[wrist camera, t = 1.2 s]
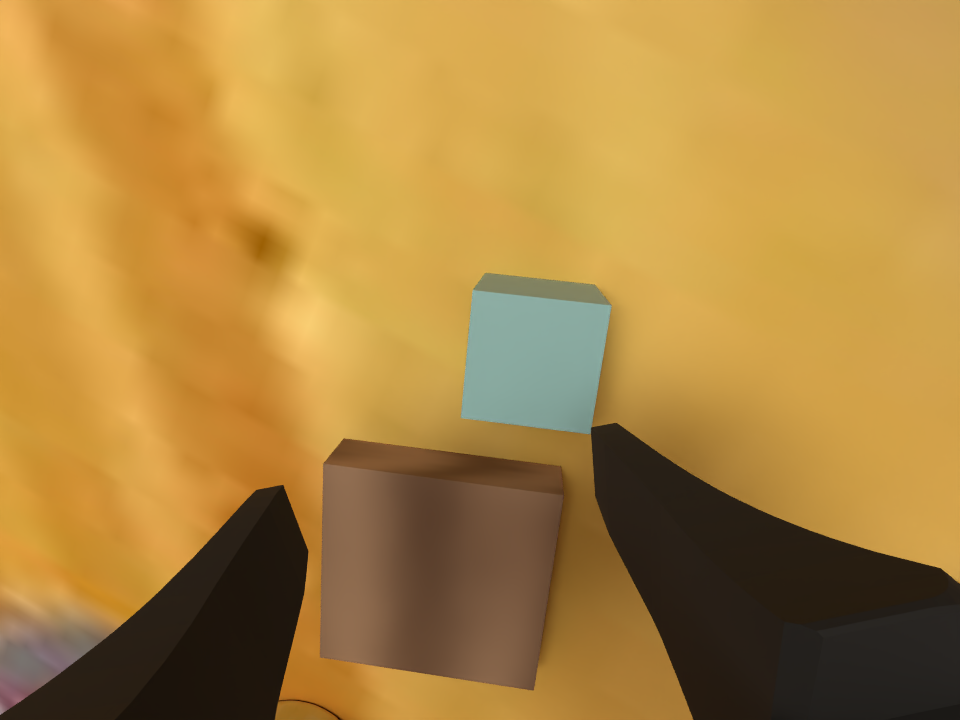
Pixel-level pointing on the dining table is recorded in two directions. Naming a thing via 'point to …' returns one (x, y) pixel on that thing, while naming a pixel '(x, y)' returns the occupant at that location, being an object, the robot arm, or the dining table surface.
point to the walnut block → (437, 561)
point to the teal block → (534, 352)
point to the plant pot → (301, 711)
